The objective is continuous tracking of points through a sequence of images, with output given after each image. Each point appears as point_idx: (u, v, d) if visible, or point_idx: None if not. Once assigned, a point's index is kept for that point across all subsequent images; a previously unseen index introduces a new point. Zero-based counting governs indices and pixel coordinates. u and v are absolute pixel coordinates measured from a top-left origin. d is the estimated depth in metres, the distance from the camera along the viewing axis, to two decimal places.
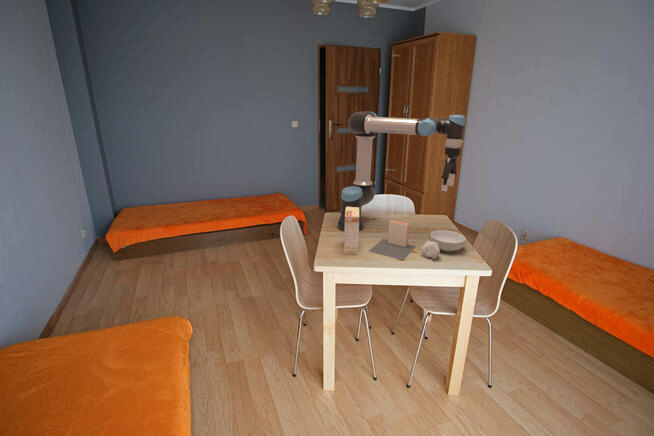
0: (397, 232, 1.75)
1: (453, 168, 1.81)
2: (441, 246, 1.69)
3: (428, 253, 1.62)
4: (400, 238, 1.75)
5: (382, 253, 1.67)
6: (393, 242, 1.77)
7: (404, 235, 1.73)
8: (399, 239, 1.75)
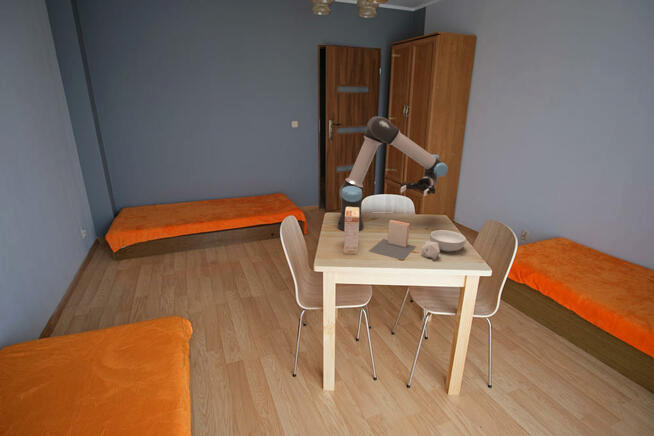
0: (397, 232, 1.75)
1: (410, 188, 1.95)
2: (441, 246, 1.69)
3: (428, 253, 1.62)
4: (400, 238, 1.75)
5: (382, 253, 1.67)
6: (393, 242, 1.77)
7: (404, 235, 1.73)
8: (399, 239, 1.75)
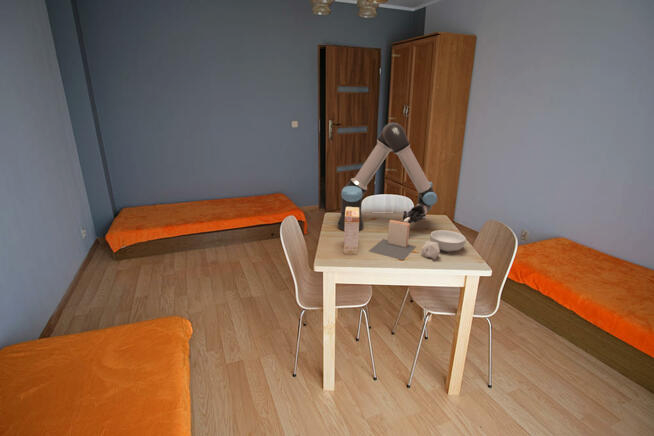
0: (397, 232, 1.75)
1: (410, 218, 1.92)
2: (441, 246, 1.69)
3: (428, 253, 1.62)
4: (400, 238, 1.75)
5: (382, 253, 1.67)
6: (393, 242, 1.77)
7: (404, 235, 1.73)
8: (399, 239, 1.75)
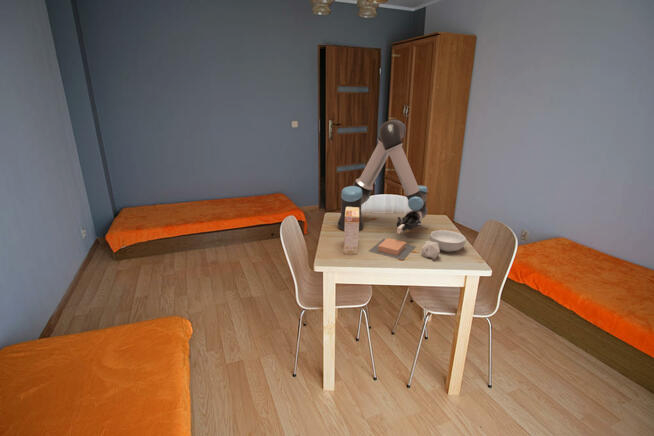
0: None
1: (404, 225, 1.82)
2: (441, 246, 1.69)
3: (428, 253, 1.62)
4: None
5: (382, 253, 1.67)
6: None
7: None
8: None
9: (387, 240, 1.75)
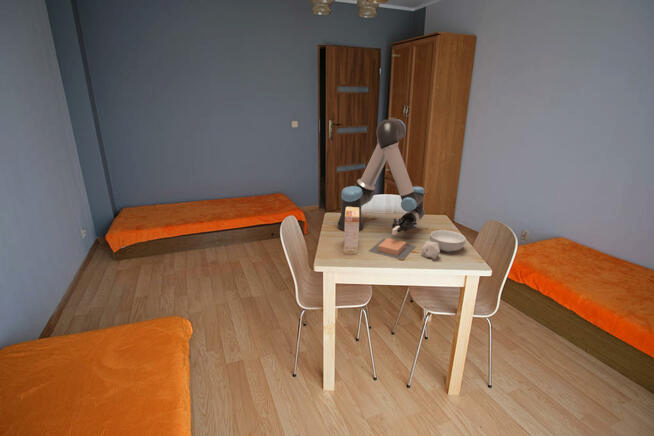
0: None
1: None
2: (441, 246, 1.69)
3: (428, 253, 1.62)
4: None
5: (382, 253, 1.67)
6: None
7: None
8: None
9: (387, 240, 1.75)
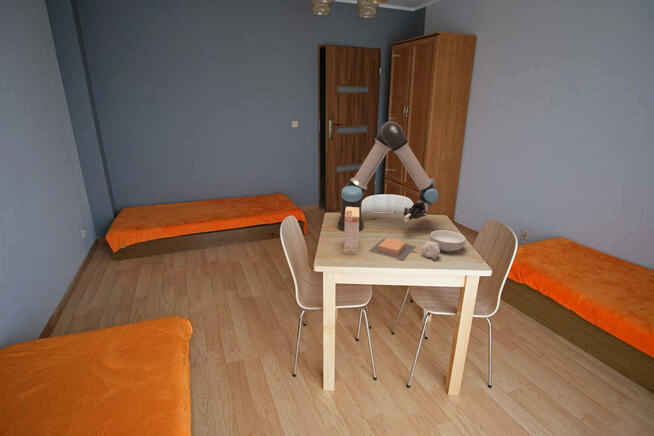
0: None
1: None
2: (441, 246, 1.69)
3: (428, 253, 1.62)
4: None
5: (382, 253, 1.67)
6: None
7: None
8: None
9: (387, 240, 1.75)
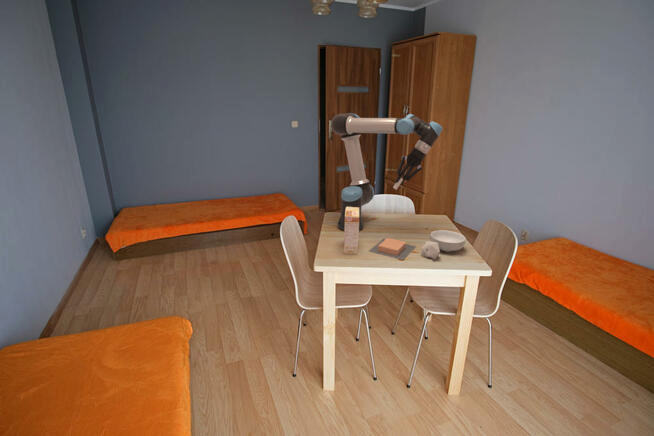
0: None
1: (407, 171, 1.84)
2: (441, 246, 1.69)
3: (428, 253, 1.62)
4: None
5: (382, 253, 1.67)
6: None
7: None
8: None
9: (387, 240, 1.75)
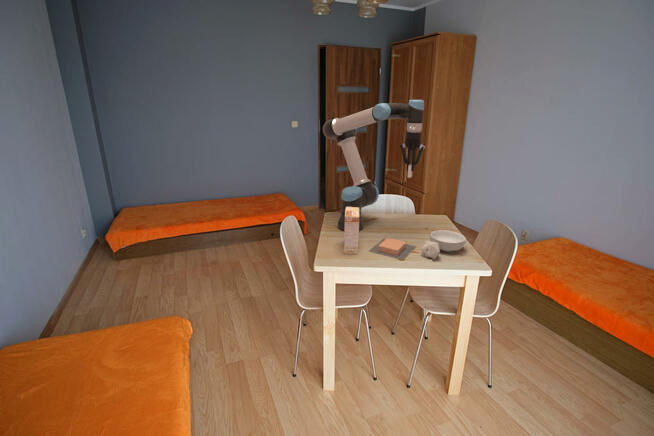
0: None
1: None
2: (441, 246, 1.69)
3: (428, 253, 1.62)
4: None
5: (382, 253, 1.67)
6: None
7: None
8: None
9: (387, 240, 1.75)
